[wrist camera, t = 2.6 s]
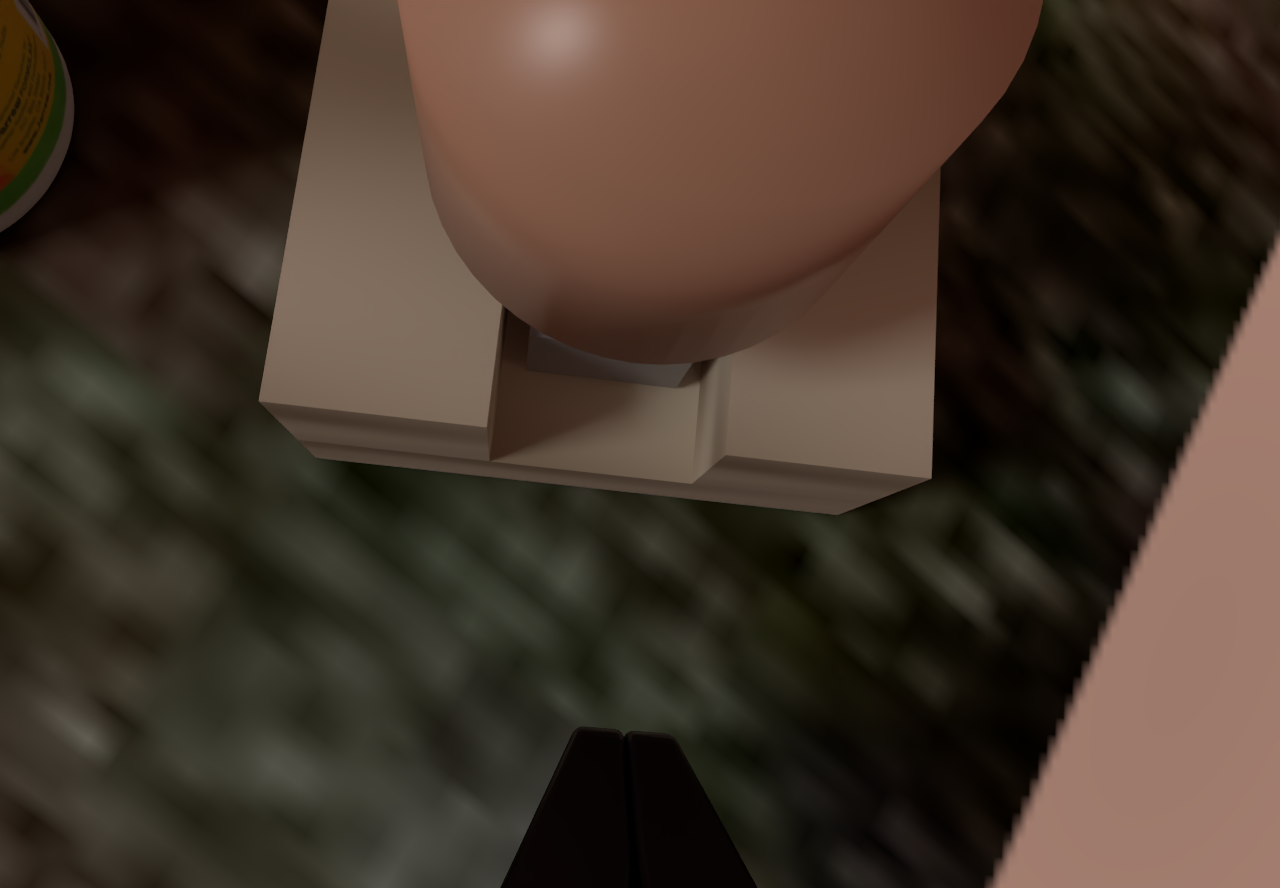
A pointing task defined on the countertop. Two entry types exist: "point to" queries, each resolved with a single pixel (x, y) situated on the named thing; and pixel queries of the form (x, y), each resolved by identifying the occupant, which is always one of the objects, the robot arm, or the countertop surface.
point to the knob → (687, 155)
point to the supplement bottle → (30, 109)
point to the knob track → (554, 403)
